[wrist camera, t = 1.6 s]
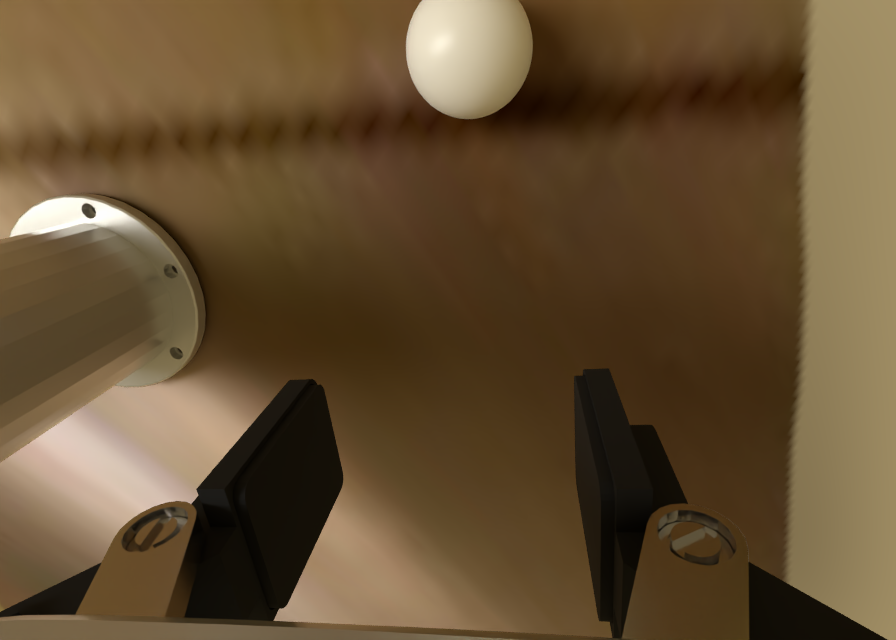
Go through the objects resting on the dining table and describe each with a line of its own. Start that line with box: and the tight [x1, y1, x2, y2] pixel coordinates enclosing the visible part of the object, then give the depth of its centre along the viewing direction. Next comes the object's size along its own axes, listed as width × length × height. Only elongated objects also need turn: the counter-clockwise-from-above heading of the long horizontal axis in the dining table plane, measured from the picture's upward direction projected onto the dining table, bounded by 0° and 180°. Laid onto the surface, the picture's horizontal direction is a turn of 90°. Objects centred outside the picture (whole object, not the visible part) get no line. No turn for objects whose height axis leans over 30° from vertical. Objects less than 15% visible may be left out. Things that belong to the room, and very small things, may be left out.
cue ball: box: [406, 0, 533, 119], centre depth 22 cm, size 6×6×6 cm
